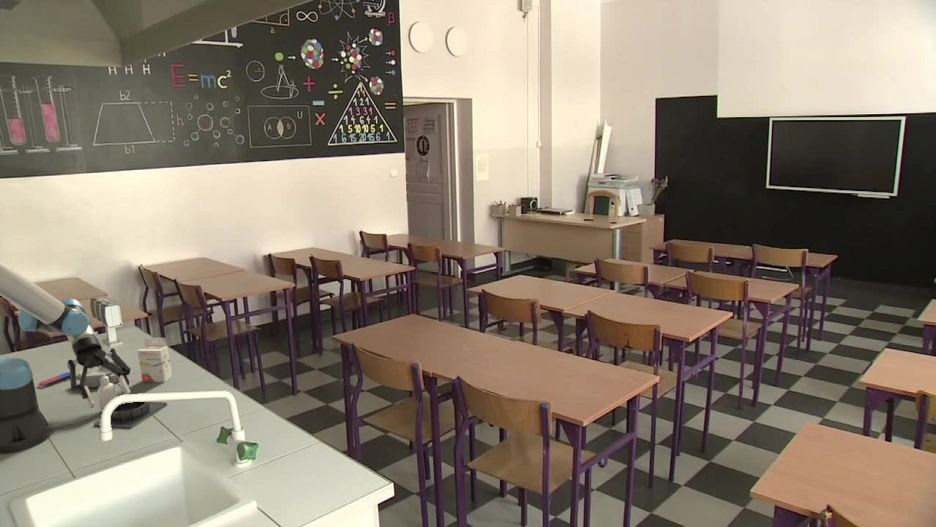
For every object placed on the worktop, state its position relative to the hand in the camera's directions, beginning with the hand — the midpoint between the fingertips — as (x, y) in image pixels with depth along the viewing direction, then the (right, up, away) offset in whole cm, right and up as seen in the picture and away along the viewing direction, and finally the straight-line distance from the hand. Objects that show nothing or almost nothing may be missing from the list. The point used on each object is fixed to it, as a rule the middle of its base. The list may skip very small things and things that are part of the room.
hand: (111, 400), depth 204 cm
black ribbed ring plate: (+7, -4, -2) cm, 8 cm away
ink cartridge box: (+2, +2, +26) cm, 26 cm away
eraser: (-35, 0, +29) cm, 45 cm away
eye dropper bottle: (-2, -4, +3) cm, 5 cm away
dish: (-17, +1, +27) cm, 32 cm away
